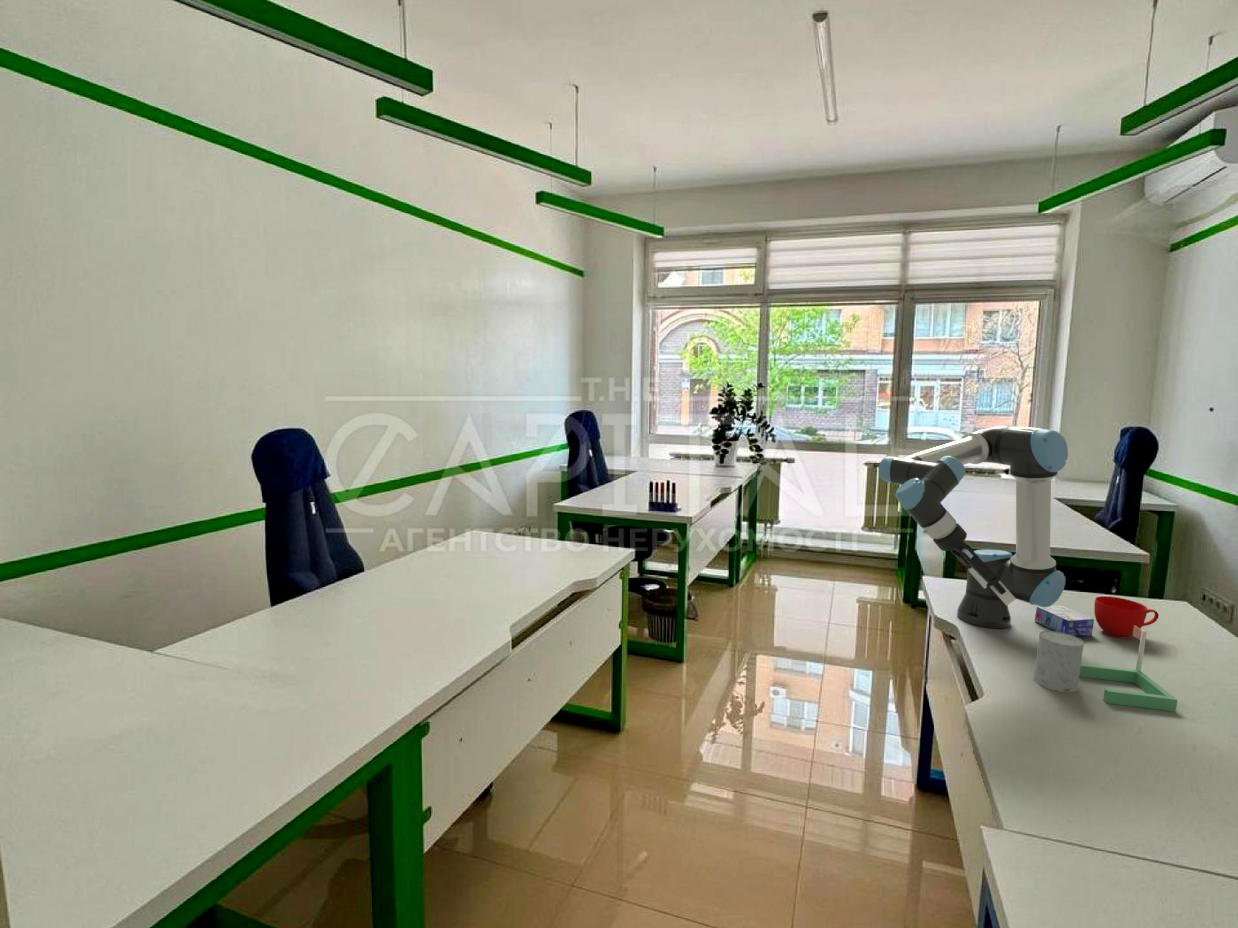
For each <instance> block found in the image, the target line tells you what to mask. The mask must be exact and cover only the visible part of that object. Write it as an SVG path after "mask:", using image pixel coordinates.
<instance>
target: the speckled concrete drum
mask: <svg viewBox="0 0 1238 928" xmlns="http://www.w3.org/2000/svg"><path fill="white" fill-rule="evenodd" d="M1084 646H1085V641H1083V640H1082V639H1081V638H1079V637H1077V636H1072V635H1069V634H1066V633H1062V632H1057V631H1055V630H1043V631H1039V633H1038V643H1037V650H1036V659H1035V668H1034V675H1033V676H1032V677H1033V680H1034V682H1035V683H1037V684H1038V685H1039V686H1041V687H1043V688H1046V689H1048V688H1049V690H1051V689H1052V690H1051V691H1055V690H1057V691H1056V692H1059V693H1067V694H1068V693H1069V692H1070V693H1076V692H1077V691H1078V690H1079V681H1080V676H1079V674H1080V667H1081V664H1082V659H1083V651H1084Z"/></svg>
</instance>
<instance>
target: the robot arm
mask: <svg viewBox="0 0 1238 928" xmlns="http://www.w3.org/2000/svg"><path fill="white" fill-rule="evenodd" d="M1068 457H1069V450H1068V445H1067V441H1066V439H1065V437H1064V436H1063V435H1062V434H1061V433H1060V432H1058V431H1057V430H1053V429H1047V428H1042V427H1027V426H1012V425H997V426H991V427H987V428H982V429H979V430H975V431H971V432H969V433H965V434H964V435H963V436H962V437H961V438H960V439H958V440H954V441H950V442H948V443H944V444H941V445H937V446H934V447H931V448H928V449H925V450H922V451H918V452H916V453H911V454H909V455H904V456H895V455H894V456H891V455H890V456H885V457H883V458H882V459H881V461H880V462H879V465H878V474H879V478H880V479H881V480H882V481H884V482H887V483H889V484H892V485H899V487H898V488H897V489H896V491H895V498H896V499H897V501H898V502H899V504H900V505H901V507H902V508H903V510H905V511H906V512H907V513H908V514H909V515H910V516H911V517H912V519H913V520H914V521H915V522H916V523H917V524H918V525H919V526H920V528H921V529H923V530H922V533H923V534H924V535H926V534H927V535H928V537H929V538H930V539H932V540H933V541H932V542H934V544H935V545H936V546H937V547H938V549H940V551H944V552H948V551H950V552H951V553H952V554H953V555H954V556H955V557H956V558H957V560H958V561H959V562H960V564H961V565H963V566H964V568H965V569H967V577H966V587H965V593H964V595H963V597H962V599H961V602H960V604H959V605H958V607H957V612H956V613H957V614H956V615H957V618H958V619H960V620H962V621H964V622H966V623H968V624H971V625H974V626H979V627H983V628H988V629H1006V628H1009V627H1010V626H1011V621H1012V617H1011V613H1010V609H1009V606H1008V605H1010V604H1011V603H1013V602H1014V601H1015V600H1018V601H1021V602H1025V603H1027V604H1030V605H1032V606H1036V607H1039V606H1041V607H1049V606H1054V604H1055V603H1056V602H1058V600H1059V599H1060V597H1061V596H1062V594H1063V591H1064V589H1065V586H1066V576H1065V575H1064V572H1063V571H1060V570H1057V562H1056V560H1055V559H1054V557H1052V556H1051V519H1052V517H1051V509H1052V507H1051V506H1052V504H1051V501H1052V498H1051V497H1052V480H1053V479H1054V478H1056V477H1057V476H1058V472H1059V471H1061V470H1062V469H1064V468H1065V466H1066V461H1067V460H1068ZM981 463H991V464H999V465H1004V466H1009V470H1010V471H1009V474H1010V476H1012V477H1013V478H1014V479H1015V483H1016V484H1015V511H1016V512H1015V553H1014V554H1013V553H1012V552H1010V551H1006V550H999V549H977V550H973V548H972V547H971V546H970V545H969V544H967V543H965V542H964V541H966V539H967V535H968V534H967V531H965V530H964V528H963V527H962V526H961V525H960V523H957V520H956V519H955V518H954V517H953V515H952V514H951V513H950V512H949V511H948V510H947V509H946V508H945V506H944V505H943V504H942V502H943V501H944V500H945V498H946V497H947V496H948V495H949V494H950V493H951V492H952V491H953V490H954V489H955V488H956V487H957V486H958V485H959V484H960V482H961V481H962V480H963V478H964V477H965V475H966V468H965V466H964V465H968V464H972V465H978V464H981Z"/></svg>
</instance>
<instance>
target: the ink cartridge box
mask: <svg viewBox="0 0 1238 928" xmlns="http://www.w3.org/2000/svg"><path fill="white" fill-rule="evenodd" d="M1034 622H1035V623H1037V624H1039V625H1041V626H1043V627H1046V628H1048V629H1051V631H1056V632H1062V633H1066V634H1069V635H1072V636H1075V637H1077V636H1092V635H1093V628H1094V623H1095V618H1093V617H1089V616H1088V615H1085V614H1082V613H1080V612H1078V611H1075V610H1073V609H1070V608H1068V607H1067V606H1064V605H1051V606H1049V607H1041V606H1036V611H1035V615H1034Z"/></svg>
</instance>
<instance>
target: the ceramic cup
mask: <svg viewBox="0 0 1238 928" xmlns="http://www.w3.org/2000/svg"><path fill="white" fill-rule="evenodd" d="M1093 607H1094V608H1093V609H1094V611H1093V612H1094V617H1095V618H1094V619H1095V620H1096V623H1097V624H1098V626H1099V627H1100V629H1101V631H1103V633H1105V634H1106V635H1109V636H1112V637H1115V638H1120V639H1130V637H1132V636H1134V635H1133V629H1134V625H1135V626H1137V627H1138V628H1140V629H1141V630H1142V628H1143V627H1146V626H1149V625H1152V624H1154V623H1156V622H1157V620H1158V619H1159V613H1158V612H1157V611H1156V610H1154V609H1152V608H1150V609H1149V608H1148V607H1147V606H1146V605H1145V604H1143V603H1140V602H1137V601H1134V600H1130V599H1128V598H1127V599H1126V598H1121V597H1116V596H1107V595H1105V596H1097V597H1095V598H1094V606H1093ZM1149 613H1153V614H1154V616H1153V617H1152V618H1151V619H1150V620H1149V621H1146V618H1147V614H1149ZM1145 621H1146V622H1145Z"/></svg>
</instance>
